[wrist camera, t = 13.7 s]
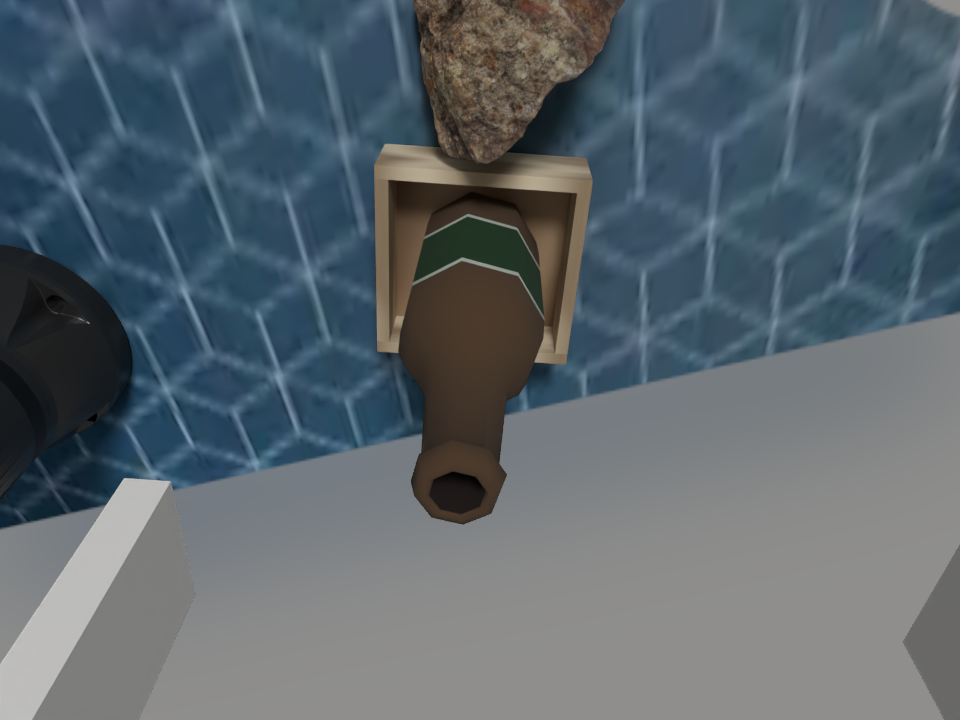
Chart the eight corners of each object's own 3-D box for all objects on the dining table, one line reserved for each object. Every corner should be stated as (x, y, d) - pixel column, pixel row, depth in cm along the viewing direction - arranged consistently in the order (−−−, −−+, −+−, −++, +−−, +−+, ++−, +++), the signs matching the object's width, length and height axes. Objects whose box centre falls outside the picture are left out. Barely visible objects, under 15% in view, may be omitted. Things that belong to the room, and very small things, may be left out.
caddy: (386, 319, 52) (377, 351, 48) (385, 143, 45) (374, 165, 42) (561, 331, 52) (565, 364, 49) (585, 157, 45) (592, 180, 42)
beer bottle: (541, 291, 50) (565, 561, 29) (429, 302, 50) (376, 572, 30) (532, 181, 46) (552, 406, 25) (410, 194, 46) (334, 422, 26)
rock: (658, 1, 42) (563, -171, 38) (703, 13, 34) (591, -201, 30) (457, 154, 46) (351, 13, 41) (458, 195, 38) (329, 28, 34)
